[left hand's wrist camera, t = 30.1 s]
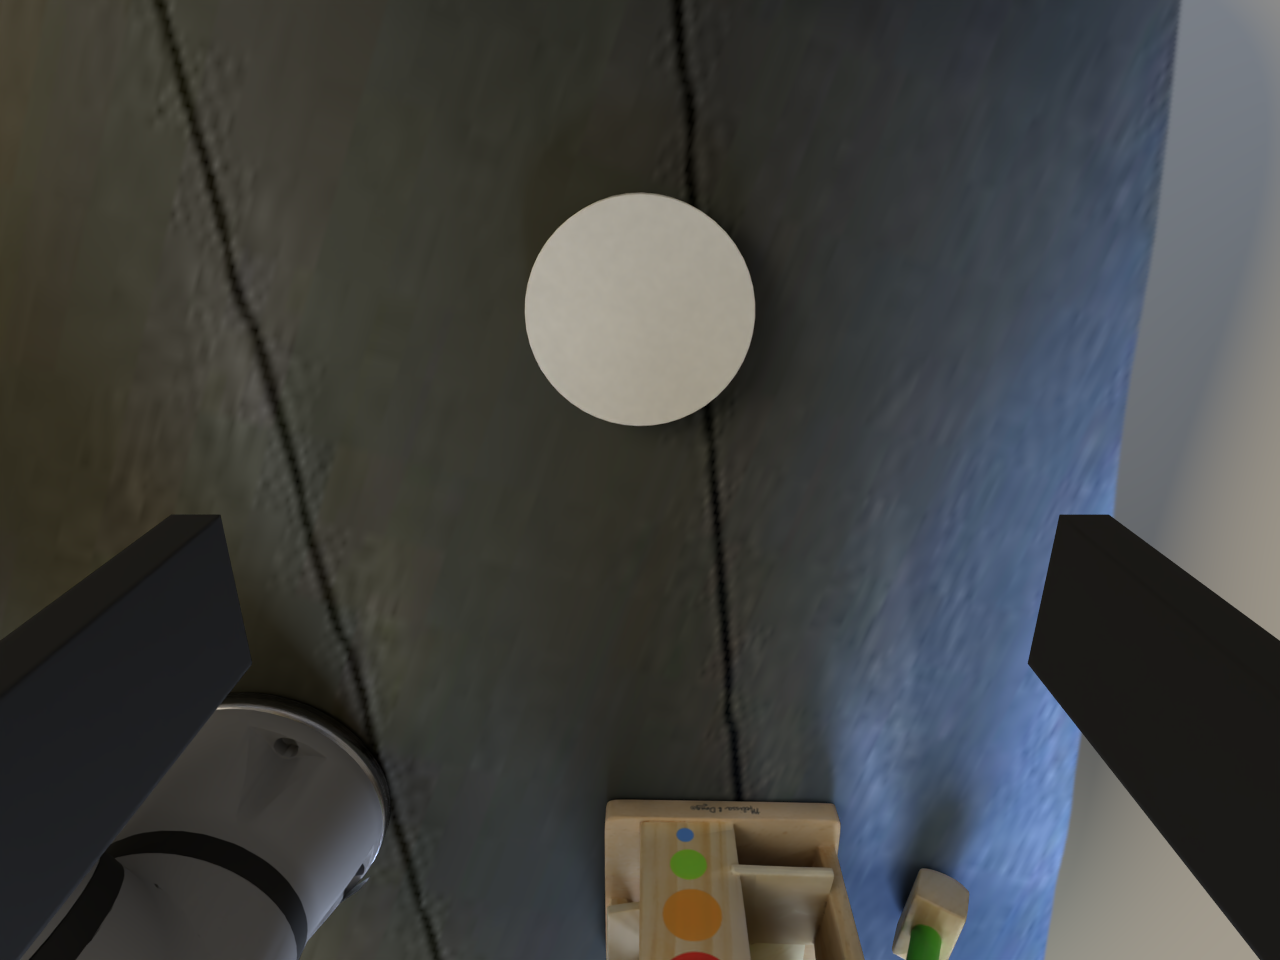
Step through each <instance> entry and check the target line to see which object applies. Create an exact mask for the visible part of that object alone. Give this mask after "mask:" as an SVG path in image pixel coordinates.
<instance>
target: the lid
mask: <svg viewBox="0 0 1280 960" xmlns="http://www.w3.org/2000/svg"><path fill="white" fill-rule="evenodd" d="M525 321H526V330H527V334H528V338H529V342H530V346H531V348H532V351H533V354H534V356H535V359H536V361H537V362H538V364H539V366H540V368H541V370H542V372H543V373H544V374H545V376H546V377H547V379H548V380H549V382H550V383H551V384H552V385H553V386H554V387H555V388H556V390H557V391H558V392H559V393H560V394H561V395H562V396H564V397H565V398H566V399H567V400H568V401H569V402H571V403H572V404H573V405H575V406H577V407H578V408H580V409H581V410H583V411H584V412H586V413H589V414H591V415H593V416H595V417H597V418H600V419H603V420H606V421H609V422H613V423H617V424H622V425H632V426H648V425H657V424H663V423H668V422H671V421H674V420H678V419H681V418H683V417H685V416H687V415H690V414H692V413H694V412H696V411H697V410H699V409H700V408H702V407H704V406H705V405H707V404H708V403H709V402H711V401H712V400H713V399H714V398H716V397H717V396H718V395H719V394H720V393H721V392H722V391H723V390H724V389H725V388H726V387H727V386H728V384H729V383H730V382H731V380H732V379H733V378H734V376H735V375H736V373H737V372H738V370H739V368H740V366H741V365H742V363H743V361H744V359H745V356H746V354H747V351H748V349H749V346H750V342H751V339H752V335H753V330H754V322H755V297H754V289H753V285H752V281H751V277H750V273H749V271H748V268H747V266H746V263H745V261H744V258H743V257H742V255H741V253H740V251H739V250H738V248H737V246H736V245H735V243H734V242H733V241H732V239H731V238H730V237H729V235H728V234H727V233H726V232H725V231H724V230H723V229H722V228H721V227H720V226H719V225H718V224H717V223H716V222H715V221H714V220H713V219H711V218H710V217H708V216H707V215H706V214H704V213H703V212H702V211H700V210H699V209H697V208H695V207H693V206H691V205H690V204H688V203H686V202H683V201H681V200H678V199H675V198H673V197H669V196H665V195H660V194H654V193H642V192H641V193H626V194H620V195H615V196H611V197H608V198H605V199H602V200H599V201H597V202H595V203H593V204H591V205H589V206H587V207H585V208H583V209H582V210H580V211H579V212H577V213H576V214H574V215H573V216H572V217H570V218H569V219H567V220H566V221H565V222H564V223H563V224H562V225H561V226H560V227H559V228H558V229H557V230H556V231H555V232H554V233H553V235H552V236H551V237H550V238H549V239H548V241H547V242H546V243H545V245H544V247H543V248H542V250H541V251H540V253H539V255H538V257H537V259H536V261H535V264H534V266H533V268H532V271H531V274H530V278H529V281H528V285H527V291H526V297H525Z"/></svg>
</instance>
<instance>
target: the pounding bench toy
mask: <svg viewBox="0 0 1280 960" xmlns="http://www.w3.org/2000/svg"><path fill="white" fill-rule="evenodd" d="M839 838H840V820H839V817H838V814H837V811H836V808H835V805H834V804H831V803H792V802H744V801H689V800H612V801H609V802H608V803H607V806H606V819H605V911H606V960H864V956H863V952H862V948H861V944H860V941H859V937H858V933H857V929H856V925H855V922H854V918H853V914H852V910H851V906H850V903H849V899H848V895H847V892H846V888H845V884H844V880H843V876H842V872H841V869H840V865H839V861H838V857H837V854H838V846H839ZM968 902H969V891H968V890H967V889H966V888H965V887H964V886H963V885H962V884H960V883H959V882H958V881H957V880H955V879H953V878H951V877H949V876H947V875H945V874H943V873H940V872H938V871H935V870H931V869H926V868H922V869H920V871H919V872H918V875H917V877H916V880H915V882H914V884H913V887H912V889H911V892H910V894H909V897H908V899H907V902H906V904H905V907H904V909H903V912H902V914H901V917H900V919H899V921H898V924H897V928H896V933H895V937H894V941H893V946H892V951H893V953H894V954H896V955H898V956H900V957H901V958H903V959H905V960H948V959H949V957H950V955H951V952H952V950H953V948H954V946H955V944H956V941H957V939H958V937H959V935H960V933H961V930H962V928H963V926H964V924H965V922H966V917H967V911H968Z"/></svg>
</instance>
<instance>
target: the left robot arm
mask: <svg viewBox="0 0 1280 960" xmlns="http://www.w3.org/2000/svg"><path fill="white" fill-rule="evenodd" d="M251 665H252V660H251V655H250V651H249V646H248V641H247V637H246V632H245V627H244V623H243V618H242V613H241V609H240V604H239V600H238V595H237V590H236V586H235V581H234V576H233V572H232V567H231V562H230V558H229V553H228V548H227V544H226V539H225V534H224V530H223V525H222V520H221V516H220V515H170V516H169V517H168V518H166V519H165V520H163V521H162V522H161V523H159V524H158V525H157V526H155V527H154V528H153V529H151V530H150V531H149V532H147V533H146V534H144V535H143V536H142V537H140V538H139V539H138V540H136V541H135V542H134V543H132V544H131V545H130V546H128V547H127V548H125V549H124V550H123V551H121V552H120V553H119V554H117V555H116V556H115V557H113V558H112V559H111V560H109V561H108V562H107V563H105V564H104V565H102V566H101V567H100V568H98V569H97V570H96V571H94V572H93V573H92V574H90V575H89V576H88V577H86V578H85V579H83V580H82V581H81V582H79V583H78V584H77V585H75V586H74V587H73V588H71V589H70V590H69V591H67V592H66V593H64V594H63V595H62V596H60V597H59V598H58V599H56V600H55V601H54V602H52V603H51V604H50V605H48V606H47V607H45V608H44V609H43V610H41V611H40V612H39V613H37V614H36V615H35V616H33V617H32V618H31V619H29V620H28V621H26V622H25V623H24V624H22V625H21V626H20V627H18V628H17V629H16V630H14V631H13V632H12V633H10V634H9V635H7V636H6V637H5V638H3V639H2V640H1V641H0V960H299V958H300V956H301V954H302V952H303V949H304V947H305V945H306V943H307V941H308V940H309V939H310V937H311V936H312V935H313V934H314V933H315V932H316V931H317V929H318V928H319V927H320V926H321V925H322V924H323V922H324V921H325V920H326V919H327V918H328V917H329V916H330V914H331V913H332V912H333V911H334V910H335V908H336V907H337V906H338V905H339V903H341V902H342V901H344V900H345V899H347V898H348V897H350V896H351V895H353V894H354V893H356V892H357V891H359V890H360V888H361V887H362V886H363V885H364V884H365V882H366V881H367V880H368V879H369V878H370V877H369V878H367V879H366V880H364V881H363V882H361V883H360V884H358V885H357V886H355V885H356V884H357V883H358V882H359V881H360V880H361V879H362V877H363V876H364V875H365V873H366V872H367V871H368V869H369V867H370V866H371V864H372V863H373V861H374V860H375V858H376V856H377V854H378V852H379V849H380V847H381V844H382V841H383V839H384V836H385V833H386V831H387V828H388V825H389V820H390V812H391V800H390V793H389V788H388V784H387V781H386V778H385V776H384V774H383V771H382V769H381V767H380V765H379V764H378V762H377V760H376V759H375V757H374V756H373V754H372V753H371V752H370V750H369V749H368V748H367V747H366V746H365V744H364V743H363V742H362V741H361V740H360V739H359V738H358V737H357V736H356V735H355V734H354V733H352V732H351V731H350V730H349V729H347V728H346V727H345V726H344V725H342V724H341V723H339V722H338V721H336V720H335V719H333V718H332V717H330V716H328V715H327V714H325V713H323V712H321V711H319V710H317V709H315V708H313V707H310V706H308V705H305V704H303V703H300V702H297V701H294V700H291V699H287V698H283V697H279V696H274V695H268V694H261V693H230V691H231V690H232V689H233V687H234V686H235V685H236V684H237V682H238V681H239V680H240V679H241V677H242V676H243V675H244V673H245V672H246V671H247V670H248V668H249V667H250V666H251ZM1028 665H1029V666H1030V667H1031V668H1032V670H1033V671H1034V672H1035V673H1036V675H1037V676H1038V677H1039V679H1040V680H1041V681H1042V682H1043V684H1044V685H1045V686H1046V687H1047V689H1048V690H1049V691H1050V693H1051V694H1052V695H1053V696H1054V698H1055V699H1056V700H1057V702H1058V703H1059V704H1060V705H1061V707H1062V708H1063V709H1064V710H1065V712H1066V713H1067V714H1068V716H1069V717H1070V718H1071V719H1072V721H1073V722H1074V723H1075V724H1076V726H1077V727H1078V728H1079V730H1080V731H1081V732H1082V733H1083V735H1084V736H1085V737H1086V738H1087V740H1088V741H1089V742H1090V744H1091V745H1092V746H1093V747H1094V749H1095V750H1096V751H1097V752H1098V754H1099V755H1100V756H1101V758H1102V759H1103V760H1104V761H1105V763H1106V764H1107V765H1108V767H1109V768H1110V769H1111V770H1112V772H1113V773H1114V774H1115V775H1116V777H1117V778H1118V779H1119V780H1120V782H1121V783H1122V784H1123V786H1124V787H1125V788H1126V789H1127V791H1128V792H1129V793H1130V795H1131V796H1132V797H1133V798H1134V800H1135V801H1136V802H1137V803H1138V805H1139V806H1140V807H1141V809H1142V810H1143V811H1144V812H1145V814H1146V815H1147V816H1148V818H1149V819H1150V820H1151V821H1152V823H1153V824H1154V825H1155V826H1156V828H1157V829H1158V830H1159V832H1160V833H1161V834H1162V835H1163V837H1164V838H1165V839H1166V840H1167V842H1168V843H1169V844H1170V846H1171V847H1172V848H1173V849H1174V851H1175V852H1176V853H1177V854H1178V856H1179V857H1180V858H1181V860H1182V861H1183V862H1184V863H1185V865H1186V866H1187V867H1188V868H1189V870H1190V871H1191V872H1192V874H1193V875H1194V876H1195V877H1196V879H1197V880H1198V881H1199V883H1200V884H1201V885H1202V886H1203V888H1204V889H1205V890H1206V891H1207V893H1208V894H1209V895H1210V897H1211V898H1212V899H1213V900H1214V902H1215V903H1216V904H1217V905H1218V907H1219V908H1220V909H1221V911H1222V912H1223V913H1224V914H1225V916H1226V917H1227V918H1228V920H1229V921H1230V922H1231V923H1232V925H1233V926H1234V927H1235V928H1236V930H1237V931H1238V932H1239V933H1240V935H1241V936H1242V937H1243V939H1244V940H1245V941H1246V942H1247V944H1248V945H1249V946H1250V948H1251V949H1252V950H1253V951H1254V953H1255V954H1256V955H1257V956H1258V958H1259V959H1260V960H1280V641H1279V640H1278V639H1277V638H1275V637H1274V636H1272V635H1271V634H1270V633H1268V632H1267V631H1266V630H1264V629H1263V628H1262V627H1260V626H1259V625H1258V624H1256V623H1255V622H1254V621H1252V620H1251V619H1249V618H1248V617H1247V616H1245V615H1244V614H1243V613H1241V612H1240V611H1239V610H1237V609H1236V608H1234V607H1233V606H1232V605H1230V604H1229V603H1228V602H1226V601H1225V600H1224V599H1222V598H1221V597H1220V596H1218V595H1217V594H1216V593H1214V592H1213V591H1211V590H1210V589H1209V588H1207V587H1206V586H1205V585H1203V584H1202V583H1201V582H1199V581H1198V580H1197V579H1195V578H1194V577H1192V576H1191V575H1190V574H1188V573H1187V572H1186V571H1184V570H1183V569H1182V568H1180V567H1179V566H1178V565H1176V564H1175V563H1173V562H1172V561H1171V560H1169V559H1168V558H1167V557H1165V556H1164V555H1163V554H1161V553H1160V552H1159V551H1157V550H1156V549H1155V548H1153V547H1152V546H1150V545H1149V544H1148V543H1146V542H1145V541H1144V540H1142V539H1141V538H1140V537H1138V536H1137V535H1136V534H1134V533H1133V532H1131V531H1130V530H1129V529H1127V528H1126V527H1125V526H1123V525H1122V524H1121V523H1119V522H1118V521H1117V520H1115V519H1114V518H1112V517H1111V516H1110V515H1060V516H1059V520H1058V525H1057V530H1056V534H1055V539H1054V544H1053V548H1052V553H1051V558H1050V562H1049V567H1048V572H1047V576H1046V581H1045V586H1044V590H1043V595H1042V600H1041V604H1040V609H1039V613H1038V618H1037V623H1036V627H1035V632H1034V637H1033V641H1032V646H1031V651H1030V655H1029V660H1028Z"/></svg>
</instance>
